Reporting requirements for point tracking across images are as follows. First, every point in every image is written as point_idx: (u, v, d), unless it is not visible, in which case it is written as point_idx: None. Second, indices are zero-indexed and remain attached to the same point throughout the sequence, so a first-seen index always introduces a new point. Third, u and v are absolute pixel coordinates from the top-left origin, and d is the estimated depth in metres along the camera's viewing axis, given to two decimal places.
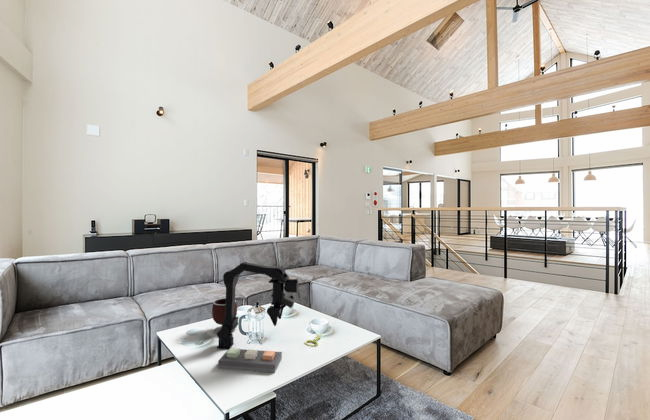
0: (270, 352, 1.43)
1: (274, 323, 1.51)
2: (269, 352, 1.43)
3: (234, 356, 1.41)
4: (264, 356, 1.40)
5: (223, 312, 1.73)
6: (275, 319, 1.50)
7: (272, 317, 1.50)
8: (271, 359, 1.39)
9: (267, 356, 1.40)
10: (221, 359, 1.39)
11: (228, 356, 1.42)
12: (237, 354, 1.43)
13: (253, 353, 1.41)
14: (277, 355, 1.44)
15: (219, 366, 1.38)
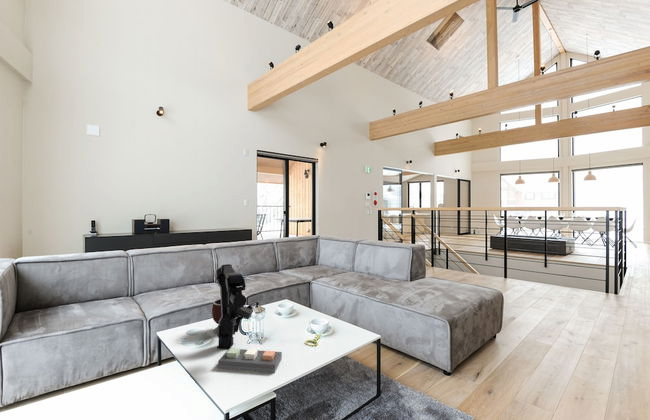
0: (270, 352, 1.43)
1: (230, 335, 1.40)
2: (269, 352, 1.43)
3: (234, 356, 1.41)
4: (264, 356, 1.40)
5: None
6: (231, 330, 1.39)
7: (227, 328, 1.39)
8: (271, 359, 1.39)
9: (267, 356, 1.40)
10: (221, 359, 1.39)
11: (228, 356, 1.42)
12: (237, 354, 1.43)
13: (253, 353, 1.41)
14: (277, 355, 1.44)
15: (219, 366, 1.38)
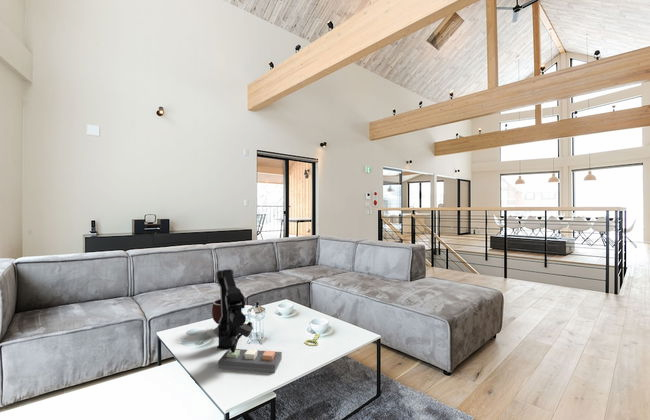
0: (270, 352, 1.43)
1: (232, 350, 1.43)
2: (269, 352, 1.43)
3: None
4: (264, 356, 1.40)
5: None
6: (233, 346, 1.42)
7: None
8: (271, 359, 1.39)
9: (267, 356, 1.40)
10: (221, 359, 1.39)
11: None
12: (237, 356, 1.43)
13: (253, 353, 1.41)
14: (277, 355, 1.44)
15: (219, 366, 1.38)
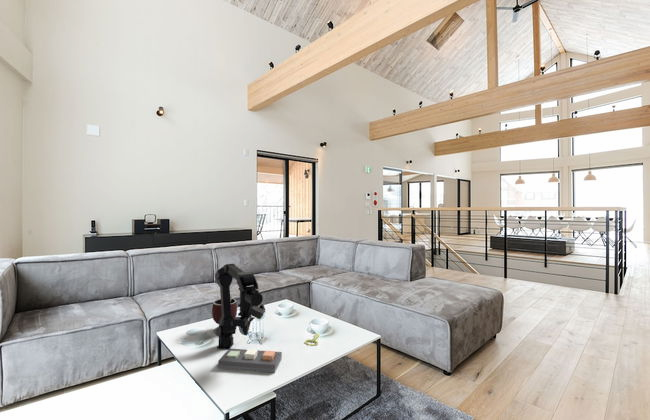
0: (270, 352, 1.43)
1: (245, 332, 1.42)
2: (269, 352, 1.43)
3: None
4: (264, 356, 1.40)
5: None
6: (245, 328, 1.41)
7: None
8: (271, 359, 1.39)
9: (267, 356, 1.40)
10: (221, 359, 1.39)
11: None
12: None
13: (253, 353, 1.41)
14: (277, 355, 1.44)
15: (219, 366, 1.38)
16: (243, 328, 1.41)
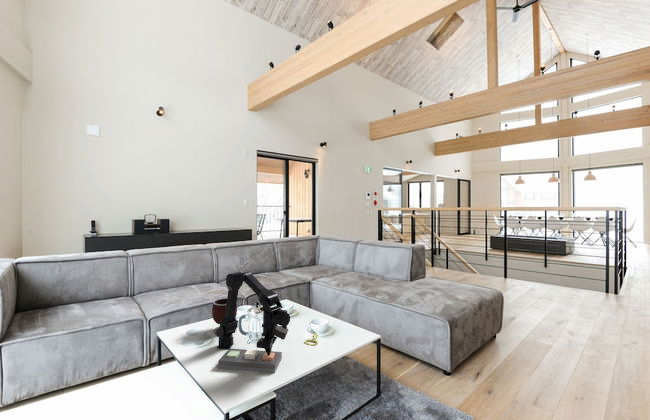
0: (270, 353, 1.43)
1: (268, 352, 1.41)
2: None
3: None
4: (264, 358, 1.40)
5: (223, 312, 1.73)
6: (269, 348, 1.40)
7: None
8: None
9: (267, 357, 1.40)
10: (221, 359, 1.39)
11: None
12: None
13: (253, 353, 1.41)
14: (277, 355, 1.44)
15: (219, 366, 1.38)
16: (266, 348, 1.41)
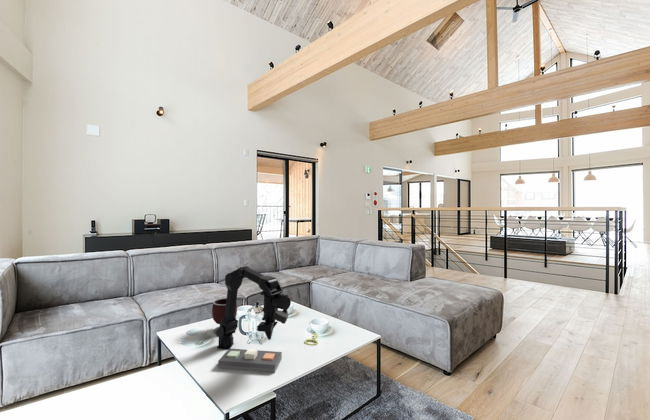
0: (270, 354, 1.43)
1: (268, 337, 1.41)
2: (269, 355, 1.43)
3: None
4: (264, 359, 1.40)
5: (223, 312, 1.73)
6: (269, 332, 1.40)
7: None
8: None
9: (267, 358, 1.40)
10: (221, 359, 1.39)
11: None
12: None
13: (253, 353, 1.41)
14: (277, 355, 1.44)
15: (219, 366, 1.38)
16: (267, 333, 1.40)
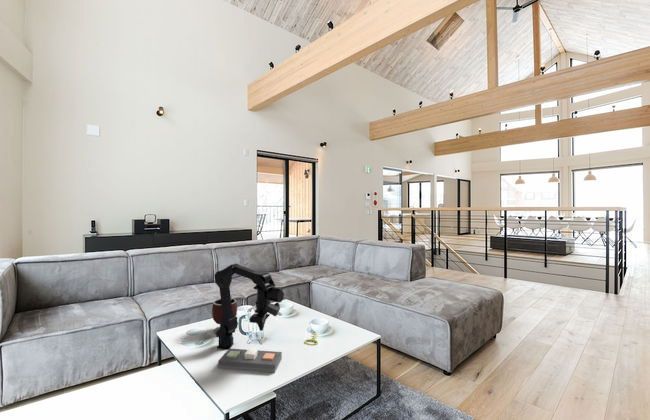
0: (270, 354, 1.43)
1: (260, 328, 1.50)
2: (269, 355, 1.43)
3: None
4: (264, 359, 1.40)
5: None
6: (261, 324, 1.49)
7: None
8: None
9: (267, 358, 1.40)
10: (221, 359, 1.39)
11: None
12: None
13: (253, 353, 1.41)
14: (277, 355, 1.44)
15: (219, 366, 1.38)
16: (259, 324, 1.49)
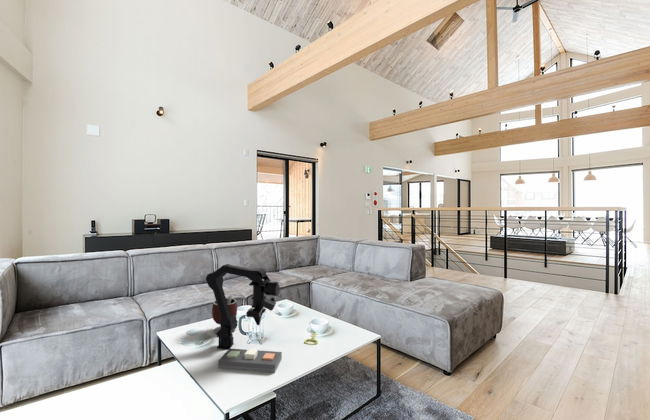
0: (270, 354, 1.43)
1: (257, 322, 1.55)
2: (269, 355, 1.43)
3: None
4: (264, 359, 1.40)
5: None
6: (258, 319, 1.54)
7: (255, 317, 1.54)
8: None
9: (267, 358, 1.40)
10: (221, 359, 1.39)
11: None
12: None
13: (253, 353, 1.41)
14: (277, 355, 1.44)
15: (219, 366, 1.38)
16: (256, 319, 1.54)
